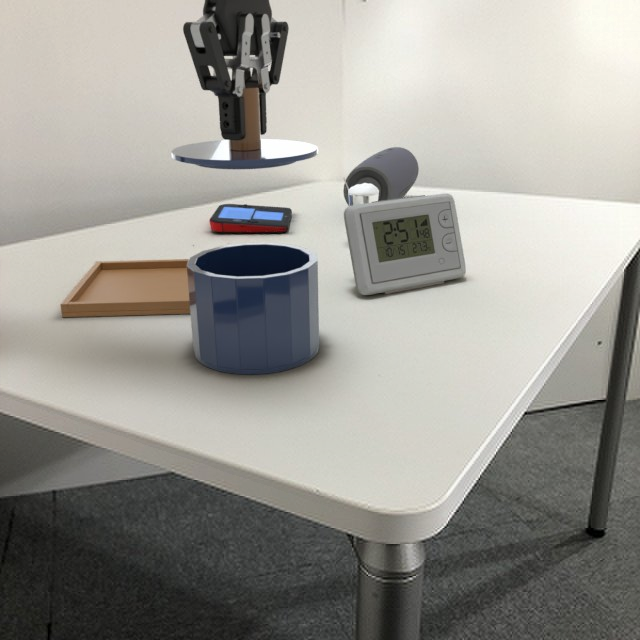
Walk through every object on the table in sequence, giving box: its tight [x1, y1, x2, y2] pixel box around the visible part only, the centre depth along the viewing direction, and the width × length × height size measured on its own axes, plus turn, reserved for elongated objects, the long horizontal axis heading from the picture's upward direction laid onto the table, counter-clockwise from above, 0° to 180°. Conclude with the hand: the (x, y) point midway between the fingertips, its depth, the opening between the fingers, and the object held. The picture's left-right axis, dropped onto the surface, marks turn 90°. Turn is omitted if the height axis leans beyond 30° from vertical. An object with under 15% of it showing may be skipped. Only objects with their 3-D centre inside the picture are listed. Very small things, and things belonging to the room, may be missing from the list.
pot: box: [187, 242, 320, 375], centre depth 78 cm, size 13×13×10 cm
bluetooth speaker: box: [342, 146, 420, 207], centre depth 138 cm, size 23×9×10 cm, turn 162°
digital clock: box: [343, 193, 467, 296], centre depth 97 cm, size 16×9×11 cm, turn 106°
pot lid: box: [170, 86, 319, 170], centre depth 72 cm, size 14×14×7 cm
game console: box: [209, 203, 293, 234], centre depth 130 cm, size 14×13×2 cm
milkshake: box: [342, 176, 379, 207], centre depth 116 cm, size 4×5×10 cm
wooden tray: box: [60, 258, 191, 318], centre depth 97 cm, size 18×18×2 cm
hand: (244, 136), depth 72 cm, fingers closed on pot lid, 3 cm apart
